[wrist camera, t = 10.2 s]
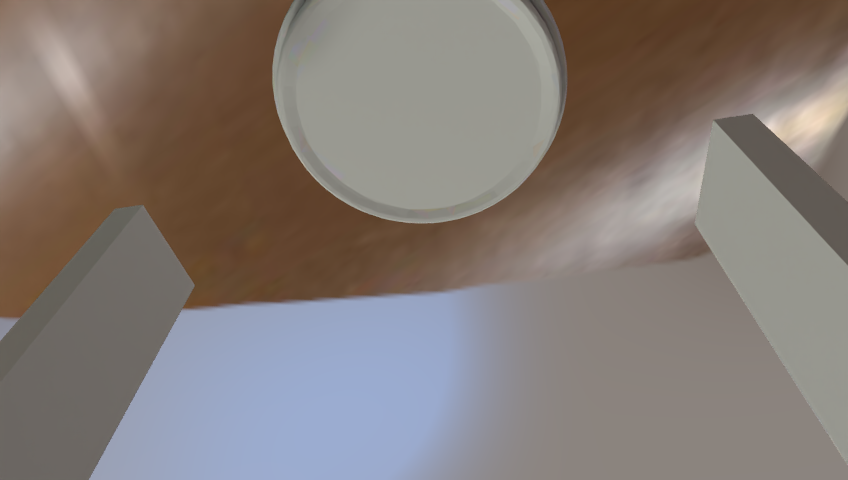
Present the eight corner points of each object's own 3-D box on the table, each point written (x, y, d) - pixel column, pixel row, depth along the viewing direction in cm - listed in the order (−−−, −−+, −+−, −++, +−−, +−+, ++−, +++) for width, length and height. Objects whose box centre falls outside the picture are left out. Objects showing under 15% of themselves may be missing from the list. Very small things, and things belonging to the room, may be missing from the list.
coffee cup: (322, -114, 22) (236, -67, 13) (538, -106, 22) (608, -52, 13) (339, 91, 28) (288, 226, 19) (509, 98, 28) (542, 236, 19)
